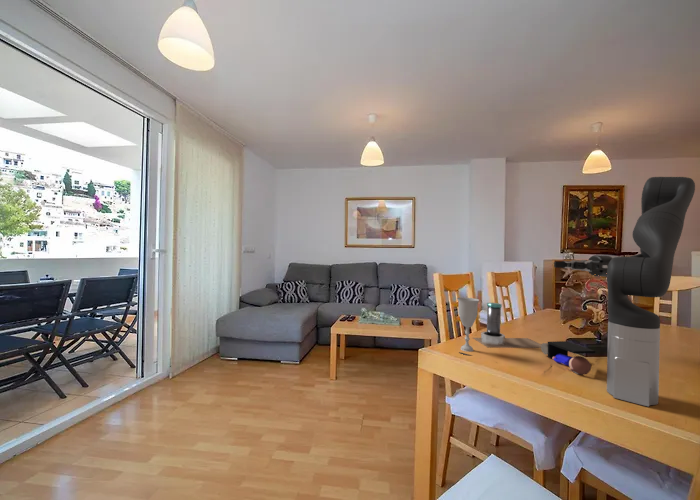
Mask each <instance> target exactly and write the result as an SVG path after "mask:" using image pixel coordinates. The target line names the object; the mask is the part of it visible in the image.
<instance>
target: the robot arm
mask: <svg viewBox="0 0 700 500" xmlns="http://www.w3.org/2000/svg"><path fill="white" fill-rule="evenodd" d="M695 191H696V182H695V181H694V179H693V178H690V177H687V176H651V177H649V178H648V179H647V180H646V181H645V183H644V185H643V187H642V191H641V199H640V200H641V203H640V205H641V208H640V209H641V215H640V216H639V217H638V219H637V221H636V223H635V225H634V227H633V230H632V240H633V241H634V243H635V244H636V245H637V246H638V248H640V249H639V252H640V253H639V254H638V253H637V254H635V255H631V256H617V255H603V254H602V255H600V254H596V255H595V254H594V255H592V256H590V257H589V258H588V260H587V259H580V260H576V259H575V260H574V259H573V260H570V261H567V260H562V261H554V262H553V267H554V268H556V269H557V268H558V269H561V268H562V269H571V270H574V271H582V272H588V274H590V275H591V276H593V275H594V274H596V275H594V276H593V277H600V276H601V277H606V284H607V312H608V313H607V314H608V315H607V316H608V317H607V318H608V319H607V321H608V322H607V351H606V352H607V355H606V356H607V358H606V360H607V361H606V362H607V363H606V392H607V393H608V394H609V395H611V396H612V398H615V399H617V400H622V401H625V402H629V403H633V404H637V405H640V406H644V407H650V406H655V405H658V404H659V397H660V396H659V393H660V392H659V391H660V390H659V388H660V346H661V344H660V343H661V341H660V340H661V318H660V316H659V314H657V313H655V312H653V311H649V310H647V309H644V308H642V307H639V306H638V305H637V304H634V303H633V302H632V301H631V300H629V298H628V296H633V297H641V298H642V297H643V298H660V297H664V295H666V294H667V292H668V291H669V288H670V285H671V280H672V273H673V267H674V265H673V264H674V259H675V258H674V257H675V255H676V251H677V248H678V244H679V242H680V239H681V236H682V232H683V228H684V224H685V219H686V215H687V211H688V209H689V206H690V205H691V203H692V200H693V197H694V194H695ZM606 273H607V274H606ZM598 275H599V276H598ZM601 277H600V278H601Z"/></svg>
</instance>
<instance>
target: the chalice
mask: <svg viewBox="0 0 700 500" xmlns="http://www.w3.org/2000/svg"><path fill="white" fill-rule="evenodd" d="M456 300H457V301H458V309H457V311H458V315H459V319H460V322H461V323H462V326H463V327H465V332H464V334H465V336H464V340H465V343H464V344H463V345H461V347H460V350H461V351H462V352H460V351H459V352H458V354H460V355H462V354H463V356H469V357H470V356H474V355H472V354H469V352H474V349H473V346H472V345H470V343H469V342H470V340H471V339H470V334H471V332H470V328H472V326H473V325H474V323H475V321H476V319H477V316H478V308H479V307H478V304H479V302H480V299H478V298H474V297H457V298H456ZM463 351H464V352H468V353H464V352H463Z"/></svg>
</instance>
